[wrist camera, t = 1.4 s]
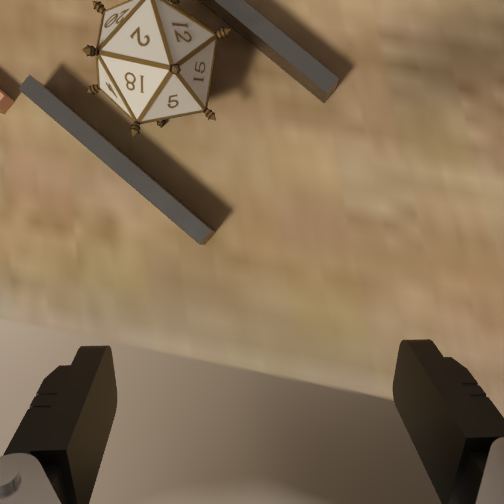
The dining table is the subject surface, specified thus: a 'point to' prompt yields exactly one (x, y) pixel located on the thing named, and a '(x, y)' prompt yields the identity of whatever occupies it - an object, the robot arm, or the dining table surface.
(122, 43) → the game die
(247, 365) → the dining table surface
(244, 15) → the chute
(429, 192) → the dining table surface
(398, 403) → the robot arm
